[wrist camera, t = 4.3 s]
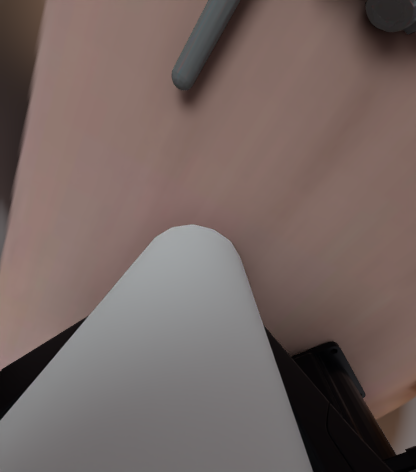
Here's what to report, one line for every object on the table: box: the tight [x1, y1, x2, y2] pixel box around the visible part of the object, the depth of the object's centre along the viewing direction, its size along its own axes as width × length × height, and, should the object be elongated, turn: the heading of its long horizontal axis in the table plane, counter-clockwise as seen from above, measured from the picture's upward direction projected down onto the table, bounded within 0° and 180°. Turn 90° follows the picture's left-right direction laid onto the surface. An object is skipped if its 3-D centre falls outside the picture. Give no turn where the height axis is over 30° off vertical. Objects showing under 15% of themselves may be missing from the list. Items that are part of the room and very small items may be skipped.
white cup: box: [0, 224, 313, 472], centre depth 8 cm, size 7×7×10 cm
